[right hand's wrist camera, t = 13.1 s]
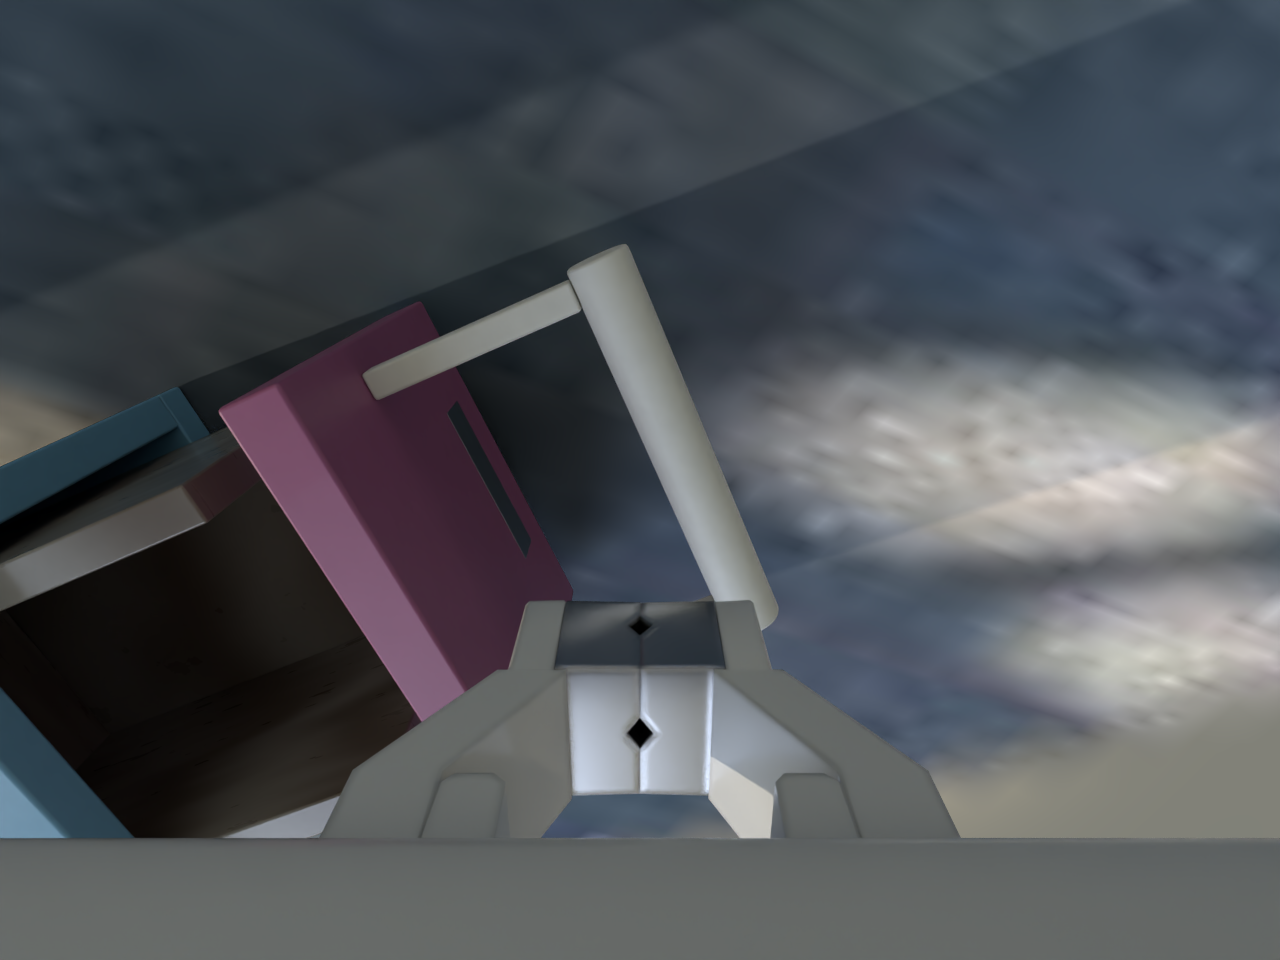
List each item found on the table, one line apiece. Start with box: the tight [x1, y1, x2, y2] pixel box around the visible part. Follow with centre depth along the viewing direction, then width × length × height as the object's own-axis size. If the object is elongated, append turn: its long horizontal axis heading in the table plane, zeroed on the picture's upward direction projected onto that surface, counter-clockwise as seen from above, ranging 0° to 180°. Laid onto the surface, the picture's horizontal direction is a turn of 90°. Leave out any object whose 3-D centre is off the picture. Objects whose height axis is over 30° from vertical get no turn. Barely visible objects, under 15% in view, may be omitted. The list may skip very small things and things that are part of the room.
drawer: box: [0, 244, 778, 838], centre depth 19 cm, size 22×10×9 cm, turn 113°
